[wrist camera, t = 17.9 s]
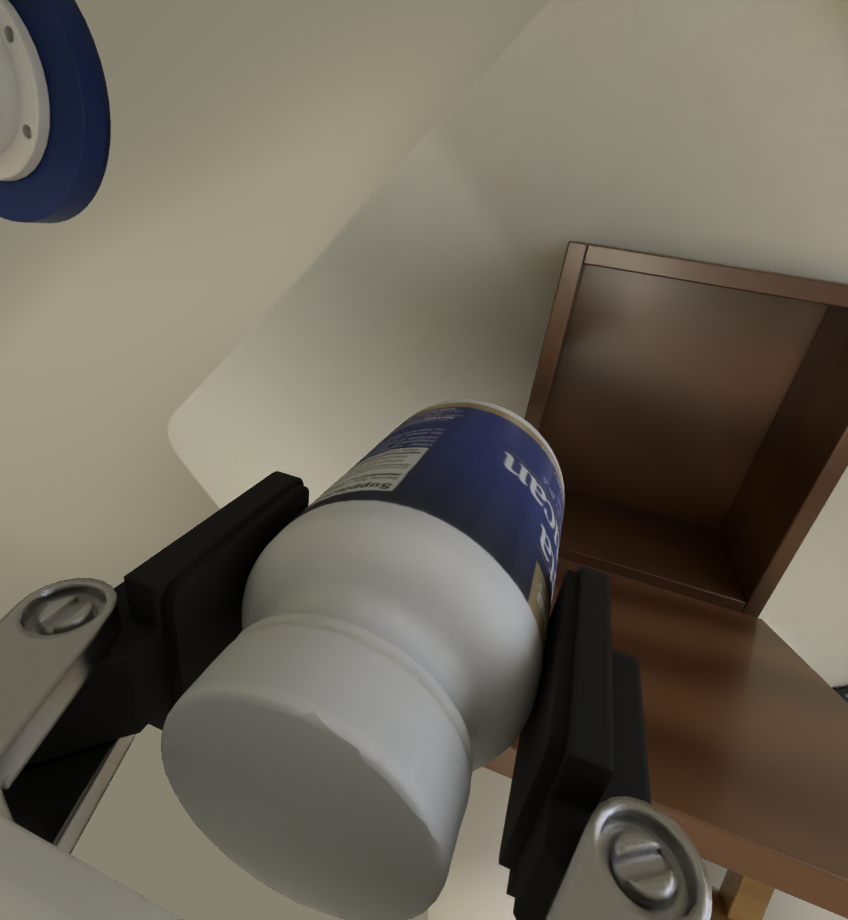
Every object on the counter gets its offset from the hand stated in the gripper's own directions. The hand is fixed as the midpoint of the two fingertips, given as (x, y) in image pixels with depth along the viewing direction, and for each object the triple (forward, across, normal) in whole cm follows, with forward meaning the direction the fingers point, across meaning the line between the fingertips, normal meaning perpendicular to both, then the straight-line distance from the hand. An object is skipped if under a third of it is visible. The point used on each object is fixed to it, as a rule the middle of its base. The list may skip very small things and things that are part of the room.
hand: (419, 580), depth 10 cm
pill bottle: (+5, 0, 0) cm, 5 cm away
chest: (+24, -7, +1) cm, 25 cm away
